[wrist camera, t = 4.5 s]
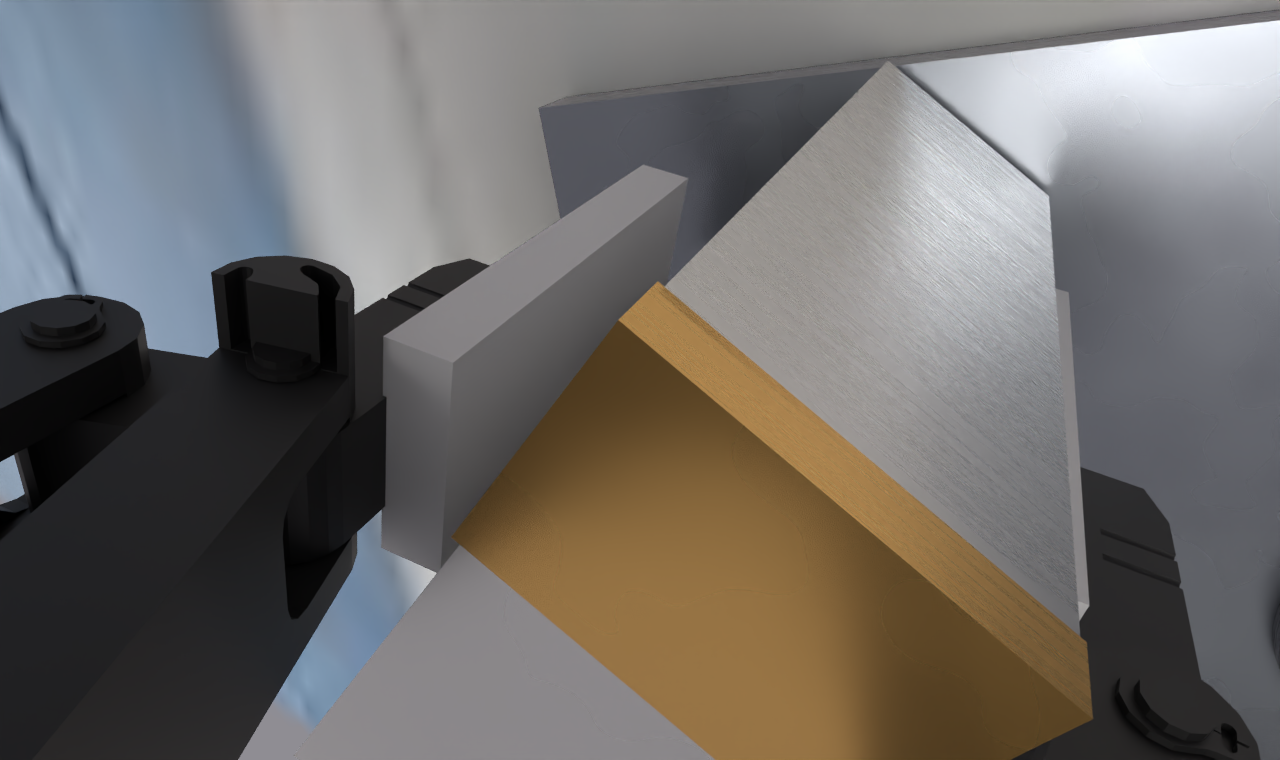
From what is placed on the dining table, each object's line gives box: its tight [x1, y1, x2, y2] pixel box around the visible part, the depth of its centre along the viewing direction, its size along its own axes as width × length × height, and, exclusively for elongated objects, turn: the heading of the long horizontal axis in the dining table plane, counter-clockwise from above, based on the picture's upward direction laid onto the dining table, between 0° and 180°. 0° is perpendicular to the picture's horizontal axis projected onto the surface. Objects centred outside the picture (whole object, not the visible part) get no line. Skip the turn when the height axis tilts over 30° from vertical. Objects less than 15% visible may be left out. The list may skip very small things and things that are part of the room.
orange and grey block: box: [294, 61, 1093, 760], centre depth 11 cm, size 3×7×10 cm, turn 144°
